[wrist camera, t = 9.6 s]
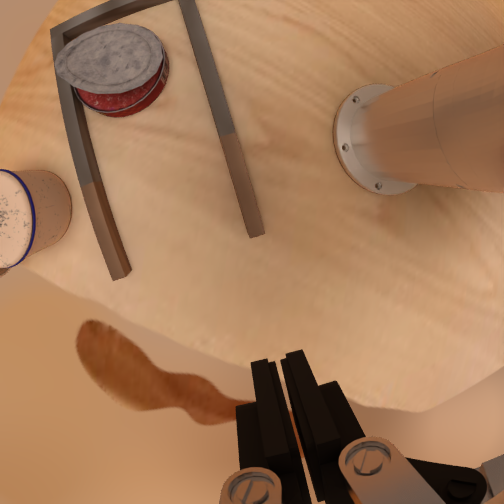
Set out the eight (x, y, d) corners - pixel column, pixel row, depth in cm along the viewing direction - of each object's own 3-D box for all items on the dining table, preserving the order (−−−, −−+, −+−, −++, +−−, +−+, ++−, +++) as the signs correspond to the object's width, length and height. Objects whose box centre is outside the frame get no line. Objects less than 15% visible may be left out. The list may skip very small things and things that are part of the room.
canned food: (100, 75, 32) (64, 20, 22) (177, 51, 31) (153, -14, 22) (86, 148, 29) (33, 94, 19) (176, 124, 29) (140, 51, 19)
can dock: (188, -14, 26) (186, -25, 24) (262, 229, 33) (265, 233, 31) (59, 36, 26) (50, 29, 23) (119, 273, 33) (112, 281, 30)
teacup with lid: (31, 154, 29) (-34, 152, 17) (87, 192, 31) (30, 202, 19) (-3, 243, 30) (-63, 269, 19) (48, 282, 32) (-6, 323, 21)
